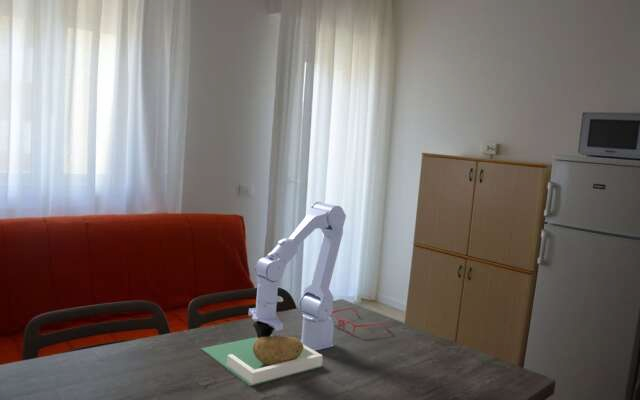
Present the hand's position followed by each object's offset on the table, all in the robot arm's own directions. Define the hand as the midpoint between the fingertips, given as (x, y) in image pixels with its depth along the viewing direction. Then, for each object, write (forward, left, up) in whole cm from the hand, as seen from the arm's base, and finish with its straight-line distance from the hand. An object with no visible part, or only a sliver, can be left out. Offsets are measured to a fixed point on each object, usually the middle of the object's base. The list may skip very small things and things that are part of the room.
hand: (263, 347), depth 150 cm
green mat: (0, -1, -3) cm, 4 cm away
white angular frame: (0, +6, -3) cm, 7 cm away
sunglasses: (-44, -7, -4) cm, 44 cm away
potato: (-1, +6, -3) cm, 7 cm away
